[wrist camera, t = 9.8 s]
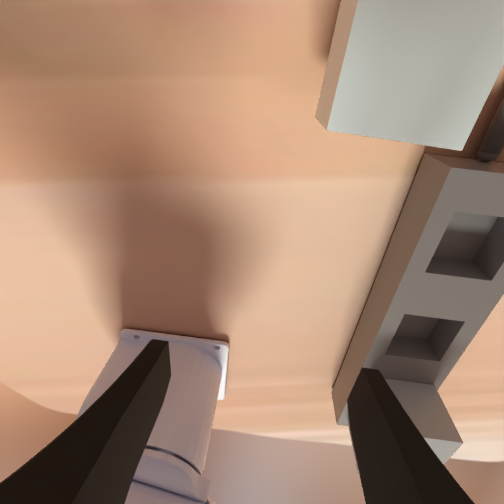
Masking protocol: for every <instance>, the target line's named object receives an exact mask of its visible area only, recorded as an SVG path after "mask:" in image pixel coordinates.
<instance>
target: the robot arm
mask: <svg viewBox="0 0 504 504" xmlns="http://www.w3.org/2000/svg"><path fill="white" fill-rule="evenodd" d="M137 335H138V336H137ZM120 338H121V340H120V342H119V343H118V345H117V347H116V348H115V350H114V352H113V353H112V355H111V357H110V358H109V360H108V362H107V363H106V365H105V367H104V368H103V370H102V372H101V373H100V375H99V377H98V378H97V380H96V382H95V383H94V385H93V387H92V388H91V390H90V392H89V393H88V395H87V397H86V398H85V400H84V402H83V404H82V406H81V409H80V411H79V414H78V416H77V419H76V420H75V421H74V422H73V423H72V424H71V425H70V426H69V427H68V428H67V429H66V430H64V432H62V433H61V434H60V435H59V436H58V437H56V438H55V439H54V440H53V441H52V442H51V443H50V444H48V445H47V446H46V447H45V448H44V449H42V450H41V451H40V452H39V453H37V454H36V455H35V456H34V457H33V458H31V459H30V460H29V461H28V462H27V463H25V464H24V465H23V466H22V467H20V468H19V469H18V470H17V471H15V472H14V473H13V474H11V475H10V476H9V477H8V478H6V479H5V480H4V481H2V482H1V483H0V504H216V503H215V502H214V500H213V499H211V498H209V497H208V491H209V486H210V480H209V479H207V478H205V477H203V472H204V467H205V461H206V456H207V451H208V445H209V440H210V434H211V430H212V425H213V419H214V414H215V409H216V404H217V400H223V399H224V398H225V389H226V377H227V365H228V353H229V344H228V343H227V342H224V341H217V340H210V339H202V338H194V337H187V336H179V335H171V334H164V333H156V332H148V331H141V330H133V329H122V331H121V332H120ZM347 405H348V416H349V425H350V432H351V437H352V441H353V446H354V451H355V456H356V460H357V465H358V469H359V474H360V478H361V483H362V487H363V492H364V496H365V501H366V504H474V503H473V501H472V500H471V499H470V498H469V496H468V495H467V494H466V493H465V492H464V490H463V489H462V488H461V487H460V485H459V484H458V483H457V482H456V480H455V479H454V478H453V477H452V475H451V474H450V473H449V471H448V470H447V469H446V468H445V466H444V465H443V463H442V462H441V461H440V459H439V458H438V457H437V455H436V454H435V453H434V451H433V450H432V449H431V447H430V446H429V444H428V443H427V442H426V440H425V439H424V437H423V436H422V435H421V433H420V432H419V430H418V429H417V427H416V426H415V424H414V423H413V422H412V420H411V419H410V417H409V416H408V414H407V413H406V411H405V410H404V408H403V407H402V405H401V403H400V402H399V400H398V399H397V397H396V396H395V394H394V393H393V391H392V390H391V388H390V386H389V385H388V383H387V382H386V380H385V379H384V377H383V375H382V374H381V372H380V371H379V370H377V369H370V368H361V370H360V373H359V375H358V377H357V379H356V381H355V384H354V386H353V388H352V390H351V392H350V394H349V397H348V399H347Z"/></svg>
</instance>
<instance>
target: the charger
mask: <svg viewBox="0 0 504 504" xmlns="http://www.w3.org/2000/svg"><path fill="white" fill-rule="evenodd" d="M503 65H504V0H341V3H340V7H339V12H338V16H337V21H336V25H335V30H334V34H333V39H332V43H331V48H330V52H329V57H328V61H327V66H326V71H325V75H324V80H323V84H322V89H321V93H320V98H319V102H318V107H317V111H316V116H315V118H316V119H317V120H318V121H319V122H320V123H321V125H322V126H323V127H324V128H325V129H326V130H328V131H334V132H341V133H347V134H354V135H360V136H367V137H373V138H380V139H387V140H393V141H400V142H406V143H413V144H419V145H426V146H432V147H439V148H446V149H452V150H459V151H462V149H463V147H464V145H465V143H466V141H467V139H468V137H469V135H470V133H471V131H472V129H473V127H474V125H475V123H476V121H477V118H478V116H479V114H480V112H481V110H482V108H483V106H484V104H485V102H486V100H487V98H488V96H489V94H490V92H491V90H492V88H493V85H494V83H495V81H496V79H497V77H498V75H499V73H500V71H501V69H502V67H503Z"/></svg>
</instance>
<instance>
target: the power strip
mask: <svg viewBox="0 0 504 504" xmlns="http://www.w3.org/2000/svg"><path fill="white" fill-rule="evenodd" d="M503 147H504V97H503V99H502V101H501V103H500V105H499V107H498V109H497V111H496V113H495V115H494V118H493V120H492V122H491V124H490V126H489V128H488V130H487V132H486V134H485V136H484V138H483V141H482V143H481V145H480V147H479V149H478V151H477V157H478V159H479V160H478V159H469V158H461V157H452V156H444V155H435V154H427V153H424V156H423V159H422V161H421V164H420V166H419V169H418V171H417V174H416V177H415V179H414V182H413V184H412V187H411V189H410V192H409V195H408V197H407V200H406V202H405V205H404V207H403V210H402V213H401V215H400V218H399V220H398V223H397V225H396V228H395V231H394V233H393V236H392V238H391V241H390V243H389V246H388V249H387V251H386V254H385V256H384V259H383V261H382V264H381V267H380V269H379V272H378V274H377V277H376V279H375V282H374V285H373V287H372V290H371V292H370V295H369V297H368V300H367V303H366V305H365V308H364V310H363V313H362V315H361V318H360V321H359V323H358V326H357V328H356V331H355V333H354V336H353V339H352V341H351V344H350V346H349V349H348V351H347V354H346V357H345V359H344V362H343V364H342V367H341V369H340V372H339V375H338V377H337V380H336V382H335V385H334V387H333V390H332V398H333V404H334V410H335V416H336V422H337V425H345V426H349V431H350V425H349V416H348V405H347V399H348V397H349V394H350V392H351V390H352V388H353V386H354V384H355V381H356V379H357V377H358V375H359V373H360V370H361V368H370V369H377V370H379V371H380V372H381V374H382V375H383V377H384V379H385V380H386V382H387V383H388V385H389V386H390V388H391V390H392V391H393V393H394V394H395V396H396V397H397V399H398V400H399V402H400V403H401V405H402V407H403V408H404V410H405V411H406V413H407V414H408V416H409V417H410V419H411V420H412V422H413V423H414V424H415V426H416V427H417V429H418V430H419V432H420V433H421V435H422V436H423V437H424V439H425V440H426V442H427V443H428V444H429V446H430V447H431V449H432V450H433V451H434V453H435V454H436V455H437V457H438V458H439V459H440V461H441V462H442V463H443V465H444V464H445V463H446V462H447V461H448V459H449V458H450V457H451V456H452V455H453V454H454V453H455V452H456V451H457V449H458V448H459V447H460V446H461V445H462V444H463V441H462V439H461V437H460V435H459V433H458V431H457V429H456V427H455V425H454V423H453V421H452V419H451V417H450V415H449V413H448V411H447V409H446V407H445V405H444V403H443V401H442V399H441V397H440V395H439V393H438V391H437V390H438V388H439V387H440V386H441V384H442V383H443V381H444V380H445V378H446V377H447V375H448V374H449V373H450V371H451V370H452V368H453V367H454V365H455V364H456V362H457V361H458V359H459V358H460V357H461V355H462V354H463V352H464V351H465V349H466V348H467V346H468V345H469V343H470V342H471V341H472V339H473V338H474V336H475V335H476V333H477V332H478V330H479V329H480V328H481V326H482V325H483V323H484V322H485V320H486V319H487V317H488V316H489V314H490V313H491V312H492V310H493V309H494V307H495V306H496V304H497V303H498V301H499V300H500V298H501V297H502V296H503V294H504V163H503V162H495V161H493V160H495V159H496V158H498V157H499V155H500V153H501V151H502V149H503ZM350 436H351V432H350ZM351 441H352V437H351ZM352 446H353V441H352ZM353 450H354V446H353ZM354 455H355V451H354ZM355 460H356V456H355ZM356 466H357V471H358V473H359V469H358V465H357V460H356Z"/></svg>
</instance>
